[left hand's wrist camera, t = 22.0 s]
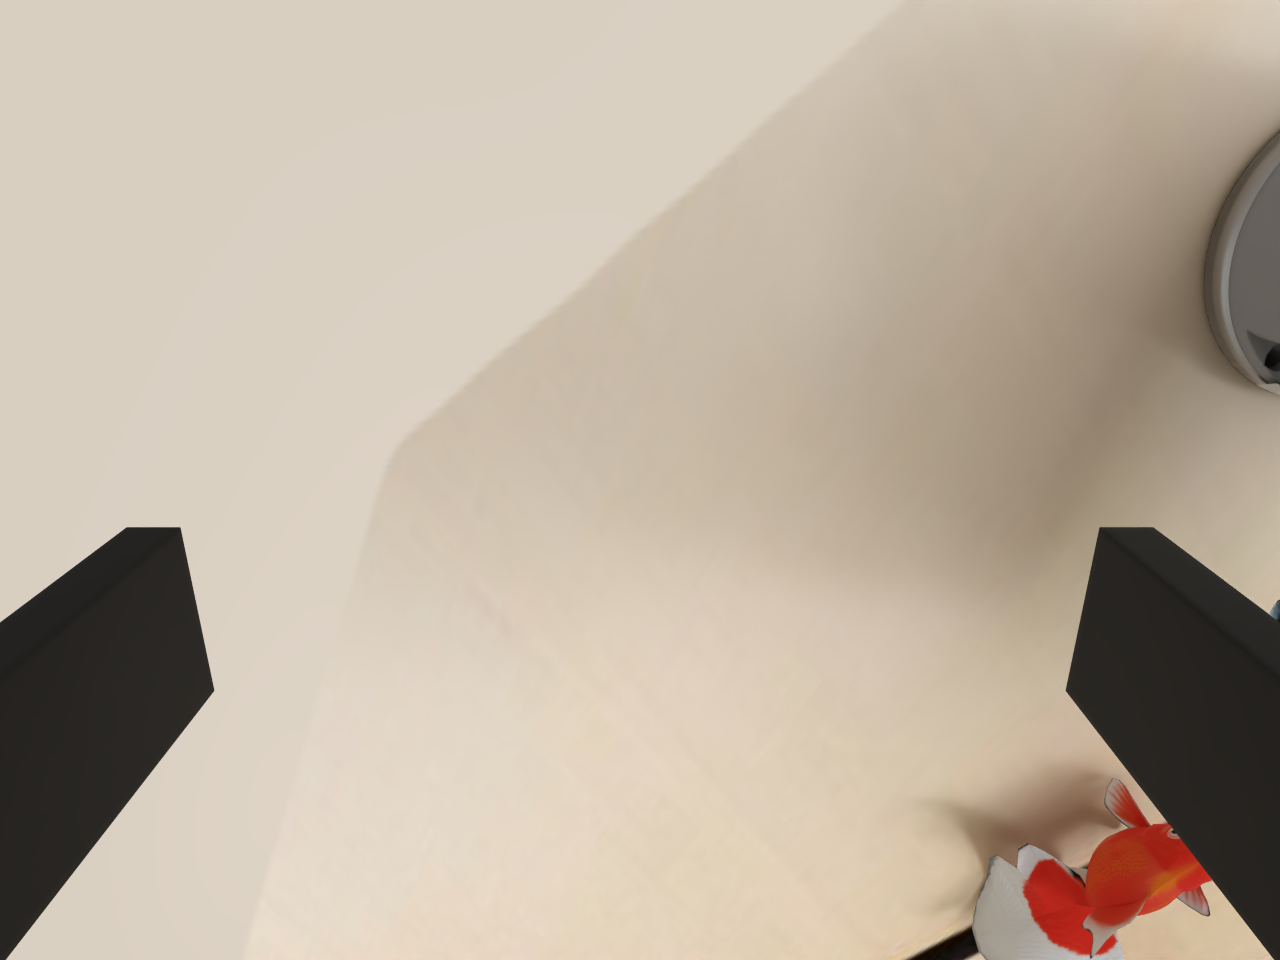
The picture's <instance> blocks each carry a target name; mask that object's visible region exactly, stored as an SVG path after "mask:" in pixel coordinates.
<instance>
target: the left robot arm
mask: <svg viewBox="0 0 1280 960" xmlns="http://www.w3.org/2000/svg"><path fill="white" fill-rule="evenodd" d="M1204 298H1205V305H1206V312H1207V316H1208V320H1209V323H1210V327H1211V329H1212V332H1213V334H1214V337H1215V339H1216V341H1217V343H1218V345H1219V347H1220V348H1221V350H1222V352H1223V353H1224V354H1225V356H1226V357H1227V359H1228V360H1229V361H1230V362H1231V363H1232V365H1233V366H1234V367H1235V368H1236V369H1237V370H1238V371H1239V372H1240V373H1242V374H1243V375H1244V376H1245V377H1246V378H1248V379H1249V380H1251V381H1252V382H1254V383H1255V384H1257V386H1259V387H1261V388H1264V389H1266V390H1268V391H1270V392H1272V393H1274V394H1276V395H1278V396H1280V132H1279V133H1278V134H1277V135H1276V136H1275V137H1274V138H1273V139H1272V140H1271V141H1270V142H1269V143H1268V144H1267V145H1266V146H1265V147H1264V148H1263V149H1262V150H1261V151H1260V152H1259V154H1258V155H1257V156H1256V157H1255V158H1254V159H1253V161H1252V162H1251V163H1250V165H1249V166H1248V167H1247V168H1246V170H1245V171H1244V172H1243V174H1242V175H1241V177H1240V178H1239V180H1238V181H1237V183H1236V184H1235V186H1234V187H1233V189H1232V191H1231V193H1230V195H1229V196H1228V198H1227V200H1226V202H1225V204H1224V206H1223V208H1222V210H1221V212H1220V215H1219V217H1218V219H1217V222H1216V225H1215V227H1214V230H1213V233H1212V236H1211V240H1210V244H1209V248H1208V252H1207V258H1206V264H1205V274H1204ZM213 692H214V687H213V682H212V677H211V672H210V668H209V663H208V658H207V653H206V648H205V644H204V639H203V634H202V629H201V624H200V620H199V615H198V610H197V605H196V600H195V595H194V591H193V586H192V581H191V576H190V571H189V567H188V562H187V557H186V552H185V547H184V543H183V538H182V533H181V528H180V527H127V528H125V529H124V530H123V531H121V532H120V533H119V534H117V535H116V536H115V537H113V538H112V539H111V540H109V541H108V542H107V543H105V544H104V545H103V546H101V547H100V548H99V549H97V550H96V551H95V552H93V553H92V554H91V555H89V556H88V557H87V558H85V559H84V560H83V561H81V562H80V563H79V564H77V565H76V566H75V567H73V568H72V569H71V570H69V571H68V572H67V573H65V574H64V575H63V576H61V577H60V578H59V579H57V580H56V581H55V582H53V583H52V584H51V585H49V586H48V587H47V588H45V589H44V590H43V591H41V592H40V593H39V594H37V595H36V596H35V597H34V598H32V599H31V600H30V601H28V602H27V603H25V604H24V605H23V606H22V607H20V608H19V609H18V610H16V611H15V612H14V613H12V614H11V615H10V616H8V617H7V618H6V619H4V620H3V621H2V622H0V960H6V959H7V957H8V956H9V955H10V954H11V952H12V951H13V950H14V948H15V947H16V946H17V944H18V943H19V942H20V941H21V939H22V938H23V937H24V936H25V934H26V933H27V932H28V930H29V929H30V928H31V926H32V925H33V924H34V923H35V921H36V920H37V919H38V917H39V916H40V915H41V914H42V912H43V911H44V910H45V908H46V907H47V906H48V905H49V903H50V902H51V901H52V899H53V898H54V897H55V896H56V894H57V893H58V892H59V890H60V889H61V888H62V886H63V885H64V884H65V883H66V881H67V880H68V879H69V877H70V876H71V875H72V874H73V872H74V871H75V870H76V868H77V867H78V866H79V865H80V863H81V862H82V861H83V859H84V858H85V857H86V856H87V854H88V853H89V852H90V850H91V849H92V848H93V847H94V845H95V844H96V843H97V841H98V840H99V839H100V837H101V836H102V835H103V834H104V832H105V831H106V830H107V828H108V827H109V826H110V825H111V823H112V822H113V821H114V819H115V818H116V817H117V816H118V814H119V813H120V812H121V810H122V809H123V808H124V807H125V805H126V804H127V803H128V801H129V800H130V799H131V798H132V796H133V795H134V794H135V792H136V791H137V790H138V788H139V787H140V786H141V785H142V783H143V782H144V781H145V779H146V778H147V777H148V776H149V774H150V773H151V772H152V770H153V769H154V768H155V767H156V765H157V764H158V763H159V761H160V760H161V759H162V757H163V756H164V755H165V754H166V752H167V751H168V750H169V748H170V747H171V746H172V745H173V743H174V742H175V741H176V739H177V738H178V737H179V735H180V734H181V733H182V732H183V730H184V729H185V728H186V727H187V725H188V724H189V723H190V721H191V720H192V719H193V717H194V716H195V715H196V714H197V712H198V711H199V710H200V708H201V707H202V706H203V705H204V703H205V702H206V701H207V699H208V698H209V697H210V696H211V694H212V693H213ZM1066 692H1067V693H1068V694H1069V696H1070V697H1071V698H1072V699H1073V701H1074V702H1075V703H1076V705H1077V706H1078V707H1079V709H1080V710H1081V711H1082V712H1083V714H1084V715H1085V716H1086V718H1087V719H1088V720H1089V721H1090V723H1091V724H1092V725H1093V727H1094V728H1095V729H1096V730H1097V732H1098V733H1099V734H1100V736H1101V737H1102V738H1103V739H1104V741H1105V742H1106V743H1107V745H1108V746H1109V747H1110V748H1111V750H1112V751H1113V752H1114V754H1115V755H1116V756H1117V758H1118V759H1119V760H1120V761H1121V763H1122V764H1123V765H1124V767H1125V768H1126V769H1127V770H1128V772H1129V773H1130V774H1131V776H1132V777H1133V778H1134V779H1135V781H1136V782H1137V783H1138V785H1139V786H1140V787H1141V788H1142V790H1143V791H1144V792H1145V794H1146V795H1147V796H1148V798H1149V799H1150V800H1151V801H1152V803H1153V804H1154V805H1155V807H1156V808H1157V809H1158V810H1159V812H1160V813H1161V814H1162V816H1163V817H1164V818H1165V819H1166V821H1167V822H1168V823H1169V825H1170V826H1171V827H1172V828H1173V830H1174V831H1175V832H1176V834H1177V835H1178V836H1179V837H1180V839H1181V840H1182V841H1183V843H1184V844H1185V845H1186V847H1187V848H1188V849H1189V850H1190V852H1191V853H1192V854H1193V856H1194V857H1195V858H1196V859H1197V861H1198V862H1199V863H1200V865H1201V866H1202V867H1203V868H1204V870H1205V871H1206V872H1207V874H1208V875H1209V876H1210V877H1211V879H1212V880H1213V881H1214V883H1215V884H1216V885H1217V887H1218V888H1219V889H1220V890H1221V892H1222V893H1223V894H1224V896H1225V897H1226V898H1227V899H1228V901H1229V902H1230V903H1231V905H1232V906H1233V907H1234V908H1235V910H1236V911H1237V912H1238V914H1239V915H1240V916H1241V917H1242V919H1243V920H1244V921H1245V923H1246V924H1247V925H1248V926H1249V928H1250V929H1251V930H1252V932H1253V933H1254V934H1255V936H1256V937H1257V938H1258V939H1259V941H1260V942H1261V943H1262V945H1263V946H1264V947H1265V948H1266V950H1267V951H1268V952H1269V954H1270V955H1271V956H1272V957H1273V959H1274V960H1280V600H1278V601H1277V602H1276V604H1275V605H1274V606H1273V608H1272V610H1271V612H1270V615H1269V614H1268V613H1266V612H1265V611H1264V610H1262V609H1261V608H1260V607H1259V606H1257V605H1256V604H1255V603H1253V602H1252V601H1251V600H1249V599H1248V598H1247V597H1245V596H1244V595H1243V594H1241V593H1240V592H1239V591H1237V590H1236V589H1235V588H1233V587H1232V586H1231V585H1229V584H1228V583H1227V582H1225V581H1224V580H1223V579H1221V578H1220V577H1219V576H1217V575H1216V574H1215V573H1213V572H1212V571H1211V570H1209V569H1208V568H1207V567H1205V566H1204V565H1203V564H1201V563H1200V562H1199V561H1197V560H1196V559H1195V558H1193V557H1192V556H1191V555H1189V554H1188V553H1187V552H1185V551H1184V550H1183V549H1181V548H1180V547H1179V546H1177V545H1176V544H1175V543H1173V542H1172V541H1171V540H1169V539H1168V538H1167V537H1165V536H1164V535H1163V534H1161V533H1160V532H1159V531H1157V530H1156V529H1155V528H1153V527H1100V528H1099V533H1098V538H1097V543H1096V547H1095V552H1094V557H1093V562H1092V567H1091V571H1090V576H1089V581H1088V586H1087V591H1086V595H1085V600H1084V605H1083V610H1082V615H1081V619H1080V624H1079V629H1078V634H1077V639H1076V644H1075V648H1074V653H1073V658H1072V663H1071V668H1070V672H1069V677H1068V682H1067V687H1066Z"/></svg>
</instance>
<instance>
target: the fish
mask: <svg viewBox="0 0 1280 960" xmlns="http://www.w3.org/2000/svg"><path fill="white" fill-rule="evenodd" d="M1105 806H1106V808H1107V809H1108V810H1109V811H1110V812H1111V813H1112V814H1113V815H1114V816H1115V817H1116V818H1117V819H1118V820H1119V821H1120V822H1122V823H1123V824H1124V825H1126V826H1127V827H1128V829H1125V830H1122V831H1120V832H1118V833H1116V834H1113V835H1111V836H1109V837H1108V838H1106V839H1105V840H1104V841H1102V842H1101V843H1100V845H1099V846H1098V847H1097V848H1096V850H1095V851H1094V853H1093V855H1092V857H1091V859H1090V862H1089V865H1088V869H1083V868H1074V867H1068V866H1066V865H1065V864H1063V863H1062V862H1060V861H1059V860H1058V859H1056V858H1055V857H1053V856H1052V855H1050V854H1048V853H1046V852H1045V851H1043V850H1041V849H1039V848H1037V847H1035V846H1033V845H1030V844H1026V845H1024V846H1023V847H1021V848H1019V849H1018V861H1017V868H1016V867H1015V866H1013V865H1012V864H1010V863H1008V862H1007V861H1005V860H1004V859H1002V858H1001V857H999V856H997V855H996V856H994V857H992V858H990V863H989V870H988V875H987V879H986V881H985V883H984V885H983V887H982V889H981V891H980V894H979V897H978V900H977V903H976V908H975V912H974V916H973V925H972V930H973V933H974V937H975V940H976V943H977V947H978V950H979V952H980V953H981V954H982V956H983V957H984V958H985V959H986V960H1124V956H1123V951H1122V948H1121V944H1120V941H1119V937H1118V934H1117V931H1116V930H1118V929H1120V928H1122V927H1123V926H1125V925H1127V924H1129V923H1131V922H1132V921H1133V919H1134V918H1135V917H1136V916H1138V915H1144V914H1148V913H1151V912H1154V911H1157V910H1159V909H1161V908H1163V907H1165V906H1167V905H1168V904H1169V903H1171V902H1172V901H1173V900H1174V899H1175V898H1178V899H1179V900H1180V901H1182V902H1183V903H1185V904H1186V905H1187V906H1189V907H1190V908H1192V909H1194V910H1195V911H1197V912H1198V913H1200V914H1202V915H1205V916H1210V911H1209V906H1208V903H1207V900H1206V898H1205V896H1204V894H1203V891H1202V889H1201V886H1200V885H1202V884H1203V883H1205V882H1210V881H1212V879H1211V877H1210V876H1209V875H1208V874H1207V872H1206V871H1205V870H1204V868H1203V867H1202V866H1201V865H1200V863H1199V862H1198V861H1197V859H1196V858H1195V857H1194V856H1193V854H1192V853H1191V852H1190V850H1189V849H1188V848H1187V847H1186V845H1185V844H1184V843H1183V841H1182V840H1181V839H1180V837H1179V836H1178V835H1177V834H1176V832H1175V831H1174V830H1173V828H1172V827H1171V826H1170V825H1169V824H1153V825H1150V824H1149V823H1148V821H1147V820H1146V818H1145V817H1144V815H1143V814H1142V812H1141V811H1140V809H1139V808H1138V806H1137V804H1136V803H1135V801H1134V800H1133V798H1132V796H1131V795H1130V793H1129V791H1128V790H1127V788H1126V787H1125V786H1124V785H1123V784H1122V783H1121V781H1119V780H1116V779H1112V780H1111V782H1110V784H1109V786H1108V787H1107V791H1106V795H1105Z"/></svg>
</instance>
